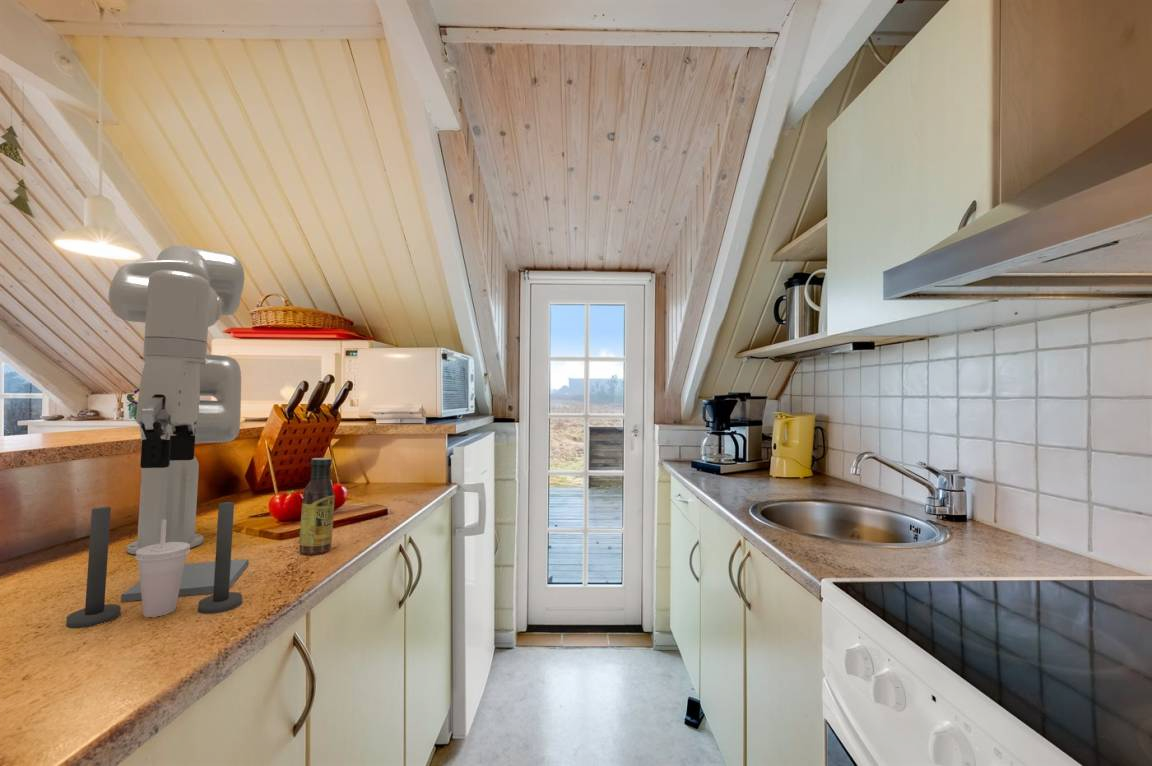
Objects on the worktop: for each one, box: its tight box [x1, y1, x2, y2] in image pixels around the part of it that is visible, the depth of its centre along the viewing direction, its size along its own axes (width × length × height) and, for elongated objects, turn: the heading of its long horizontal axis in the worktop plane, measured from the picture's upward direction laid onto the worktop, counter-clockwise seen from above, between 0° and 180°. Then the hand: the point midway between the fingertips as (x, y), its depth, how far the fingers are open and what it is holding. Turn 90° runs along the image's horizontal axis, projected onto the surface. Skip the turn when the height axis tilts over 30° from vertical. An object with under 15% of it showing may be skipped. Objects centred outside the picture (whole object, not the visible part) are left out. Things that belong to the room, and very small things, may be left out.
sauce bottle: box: [298, 457, 336, 555], centre depth 105 cm, size 6×6×20 cm
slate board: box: [120, 558, 250, 603], centre depth 86 cm, size 14×14×1 cm
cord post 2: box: [197, 501, 243, 614], centre depth 77 cm, size 6×6×16 cm
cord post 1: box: [65, 506, 122, 629], centre depth 71 cm, size 6×6×16 cm
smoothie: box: [134, 519, 191, 618], centre depth 74 cm, size 6×6×14 cm
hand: (168, 463), depth 74 cm, fingers open, 9 cm apart
